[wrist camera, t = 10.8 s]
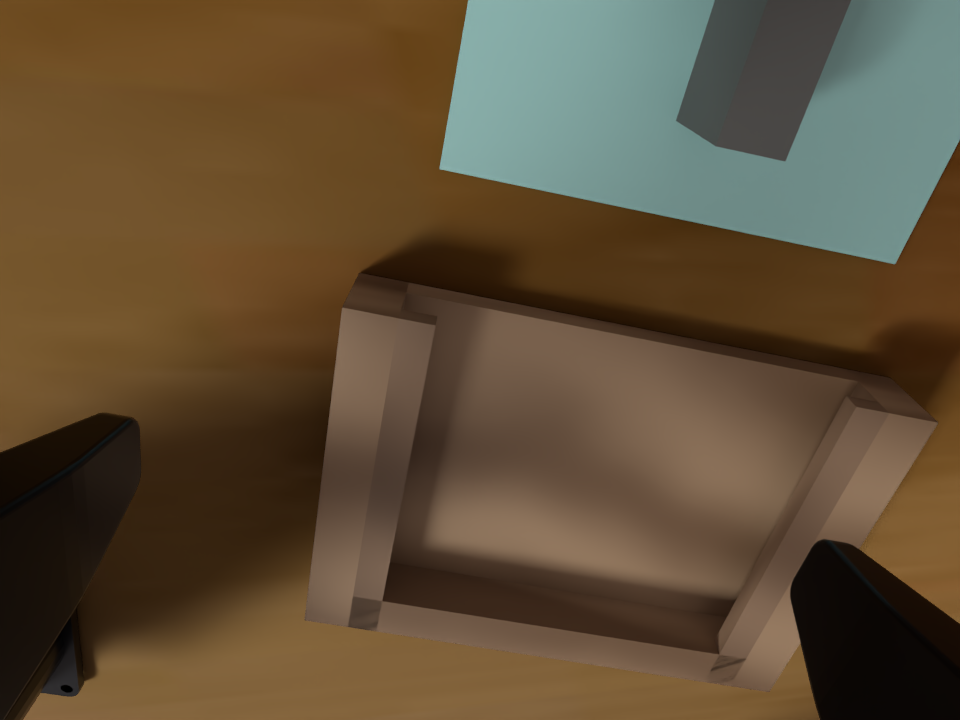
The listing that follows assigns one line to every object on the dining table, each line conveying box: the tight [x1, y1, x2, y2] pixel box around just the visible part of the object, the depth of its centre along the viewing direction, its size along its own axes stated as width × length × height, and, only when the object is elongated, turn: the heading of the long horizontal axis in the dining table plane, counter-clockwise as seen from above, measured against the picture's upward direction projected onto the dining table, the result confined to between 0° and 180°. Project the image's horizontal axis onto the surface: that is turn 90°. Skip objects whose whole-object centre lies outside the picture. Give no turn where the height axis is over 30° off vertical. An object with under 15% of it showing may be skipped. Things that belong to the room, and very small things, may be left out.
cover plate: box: [440, 0, 960, 264], centre depth 15 cm, size 10×13×4 cm
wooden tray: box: [305, 273, 938, 692], centre depth 22 cm, size 12×17×3 cm
